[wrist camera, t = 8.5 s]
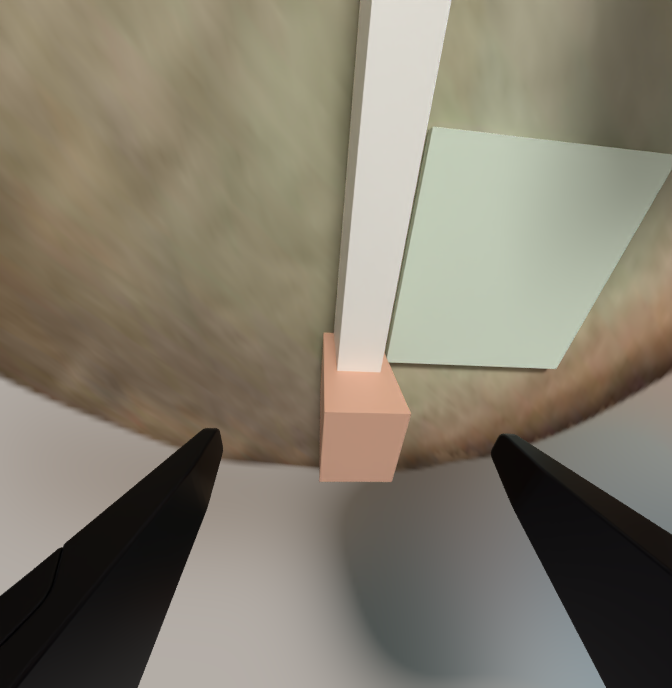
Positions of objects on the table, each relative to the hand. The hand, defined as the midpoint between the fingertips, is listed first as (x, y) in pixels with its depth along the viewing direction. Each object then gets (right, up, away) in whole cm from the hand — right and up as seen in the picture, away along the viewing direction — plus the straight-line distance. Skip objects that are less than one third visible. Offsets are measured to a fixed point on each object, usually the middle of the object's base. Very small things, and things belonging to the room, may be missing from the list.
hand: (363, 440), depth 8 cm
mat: (+6, +6, +3) cm, 9 cm away
